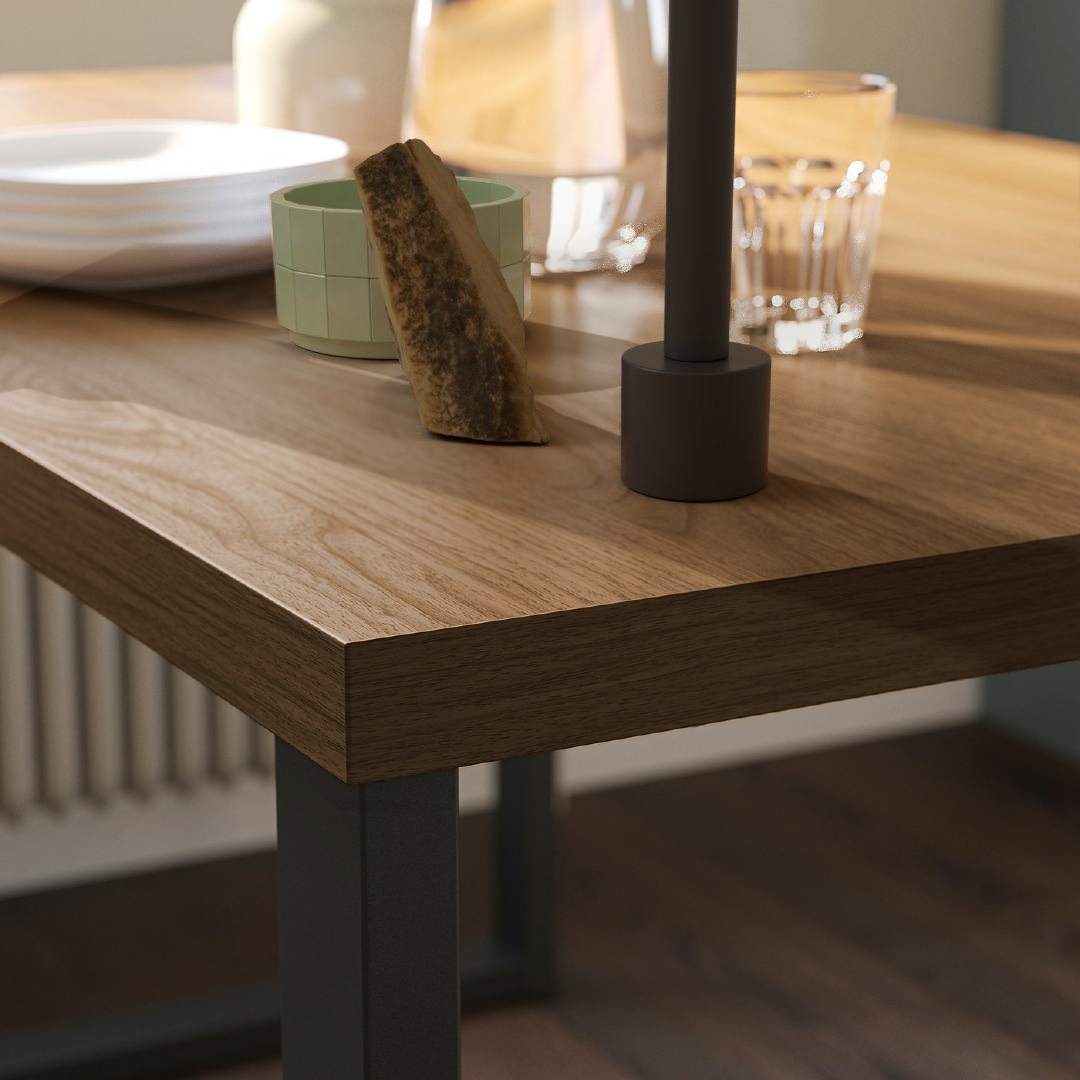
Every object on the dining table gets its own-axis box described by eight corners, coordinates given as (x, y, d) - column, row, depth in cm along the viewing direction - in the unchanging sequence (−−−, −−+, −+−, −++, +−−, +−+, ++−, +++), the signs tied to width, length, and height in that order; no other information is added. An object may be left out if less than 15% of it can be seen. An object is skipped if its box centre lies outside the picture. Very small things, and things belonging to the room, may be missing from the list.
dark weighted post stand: (611, 498, 53) (616, -383, 45) (629, 456, 58) (635, -356, 50) (764, 505, 53) (795, -389, 45) (770, 461, 57) (799, -362, 49)
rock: (341, 305, 70) (235, 322, 60) (469, 131, 67) (379, 121, 57) (547, 482, 69) (472, 529, 59) (685, 313, 66) (629, 334, 57)
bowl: (243, 358, 71) (233, 210, 69) (318, 304, 81) (312, 173, 79) (504, 366, 70) (502, 214, 68) (548, 309, 80) (547, 176, 78)
